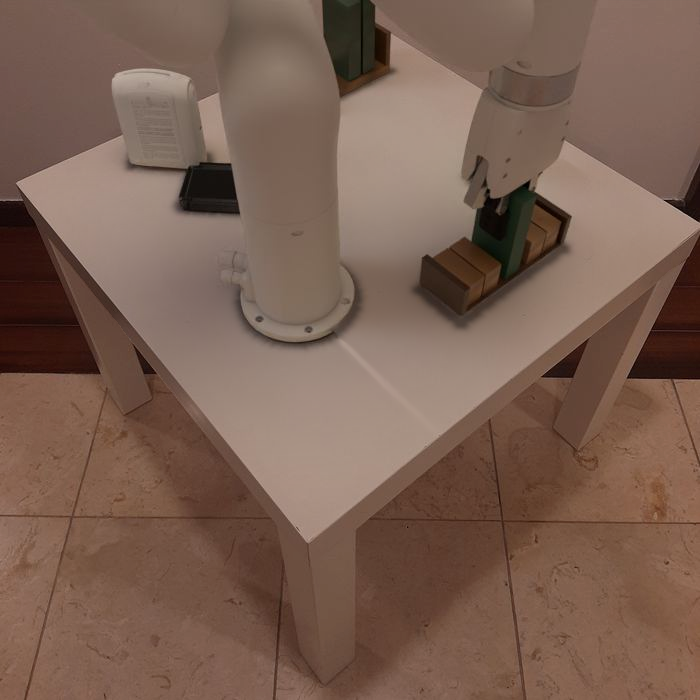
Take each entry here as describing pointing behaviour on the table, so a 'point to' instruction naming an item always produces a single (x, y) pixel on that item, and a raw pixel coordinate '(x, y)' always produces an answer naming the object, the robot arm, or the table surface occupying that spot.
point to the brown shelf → (355, 42)
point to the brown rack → (489, 261)
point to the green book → (508, 232)
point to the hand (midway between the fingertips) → (501, 225)
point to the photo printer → (159, 118)
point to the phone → (209, 188)
